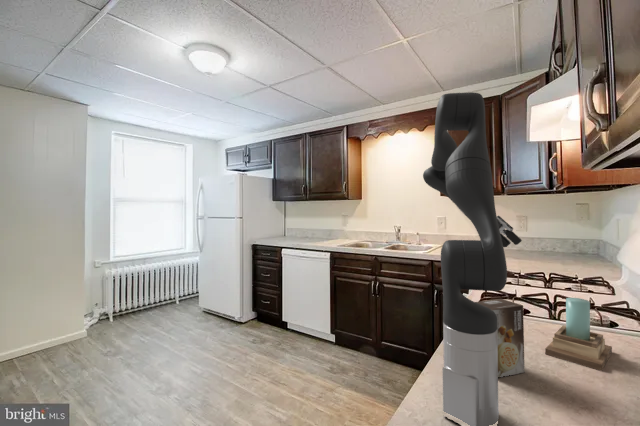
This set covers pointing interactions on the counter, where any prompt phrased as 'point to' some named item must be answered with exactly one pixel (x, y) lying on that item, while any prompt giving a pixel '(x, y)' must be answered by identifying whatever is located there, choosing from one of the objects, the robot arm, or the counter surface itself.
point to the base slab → (579, 357)
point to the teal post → (578, 318)
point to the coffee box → (508, 335)
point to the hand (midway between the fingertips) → (513, 244)
